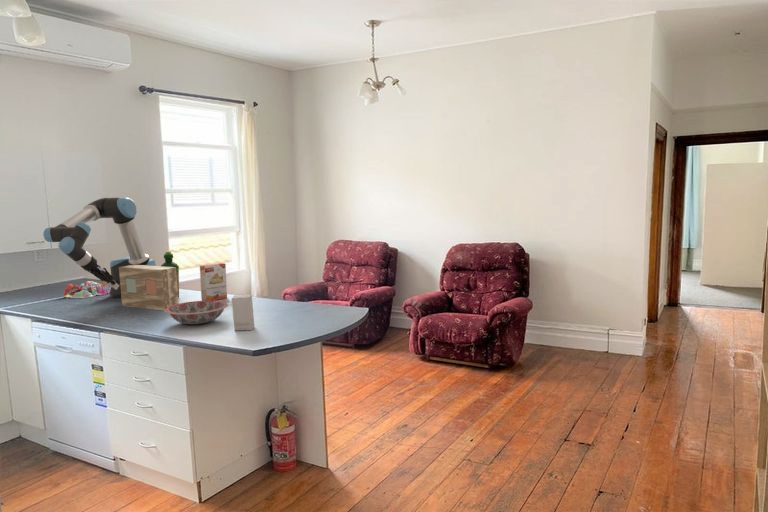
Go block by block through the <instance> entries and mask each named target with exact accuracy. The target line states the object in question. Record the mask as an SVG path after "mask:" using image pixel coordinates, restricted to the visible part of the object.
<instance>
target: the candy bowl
mask: <svg viewBox="0 0 768 512" xmlns="http://www.w3.org/2000/svg"><path fill="white" fill-rule="evenodd" d="M70 291H71V292H70ZM69 292H70V293H69ZM107 293H108V294H110V285H109V284H108V283H107V282H105V281H101V283H99V282H95V281H90V280H87V281H86V282H85V283H81V284H80V285H79V286H78V284H74V285H73V284H72V283H69V284H67V285H66V286H65V289H64V290H63V297H71V298H82V299H87V298H86V297H91V298H94V297H97V296H96V295H101V296H105V295H108V294H107ZM93 296H94V297H93Z"/></svg>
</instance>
